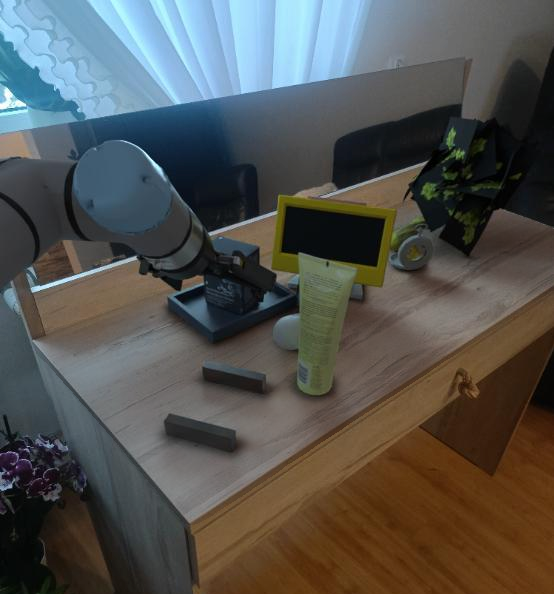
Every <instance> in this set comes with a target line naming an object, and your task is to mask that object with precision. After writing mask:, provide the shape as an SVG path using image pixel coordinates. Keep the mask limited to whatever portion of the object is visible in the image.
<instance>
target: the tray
mask: <svg viewBox="0 0 554 594" xmlns="http://www.w3.org/2000/svg"><path fill="white" fill-rule="evenodd" d="M166 299H167V304H168V308H169V309H171V310H172V311H173V312H175V313H176V314H177V315H178V316H180V317H181V318H182V319H183V320H185V321H186V322H187V323H188V324H189V325H190V326H191V327H193V328H195V330H197V331H198V332H199V333H200V334H202V335H203V336H204V337H205V338H207V340H209V341H210V342H211V343H213V344H214V343H215V344H216V343H217V342H219V341H221V340H223V339H225V338H228V337H230V336H232V335H234V334H237V333H239V332H241V331H243V330H245V329H248V328H249V327H252V326H254V325H256V324H259V323H261V322H263V321H265V320H268V319H269V318H271V317H274V316H276V315H278V314H280V313H282V312H284V311H286V310H289V309H291V308H293V307H295V306H297V302H296V292H294V291H292V290H291V289H289V288H287V286H284V285H282V284H281V283H279V282H278V281H276V283H275V289H274V292H268V291H267V294H265V295H264V300H263V303H262V302H258V303H257V304H256V305H255V306H254V307H253V308H252V309H250V310H249V311H248V312H247V313H246V314H245V315H243V316H242V315H240V314H237V313H234V312H231V311H229V310H226V309H223V308H220V307H217V306H214V305H211V304H207V303H206V301H205V291H204V281H203V282H201V283H198V284H195V285H193V286H190V287H187V288H185V289H181V291H177V292H175V293H172V294H169V295H167V297H166Z"/></svg>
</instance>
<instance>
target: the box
mask: <svg viewBox="0 0 554 594" xmlns="http://www.w3.org/2000/svg"><path fill="white" fill-rule="evenodd" d="M211 240H212V243H213V247H214V249H215V250H217V251H219V252H222V253H224V254H226V255H227V256H231V255H232V251H233V250H239V251H240V252H242V253H243V254H244V255H245V256H246V257H247V258H249V259H251V260H252V261H254V262H256V263H258V264H260V265H261V254H260V253H261V252H260V251H261V247H260V246H259V245H256V244H252V243H248V242H244V241H240V240H237V239H233V238H230V237H226V236H224V235H221V234H219V235H217V236H216V237H214V238H213V239H211ZM212 272H214V273H216V270H214V271H212ZM202 277H203V282H204V291H205V301H206V303H207V304H211V305H214V306H217V307H220V308H223V309H226V310H229V311H231V312H234V313H237V314H240V315H242V316H243V315H245V314H246V313H247V312H248V311H249V310H250V309H252V308H253V307H254V306H255V305H256V304H257V303H258V301H257V300H256V298H255V297H254V296H253V294H252V293H251V292H250V288H247V287H245V286H242V285H239V284H237V283H234V282H231V281H228V280H226V279H221V280H215V279H212V278H209V277H207V276H202Z"/></svg>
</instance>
